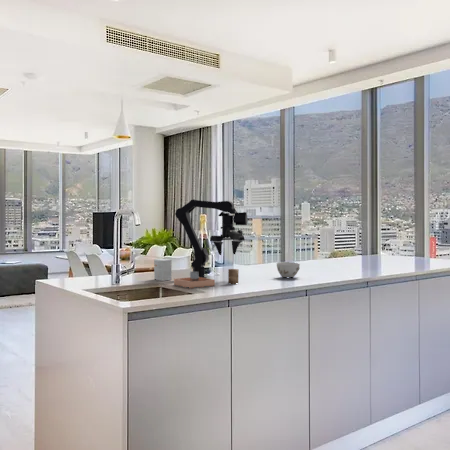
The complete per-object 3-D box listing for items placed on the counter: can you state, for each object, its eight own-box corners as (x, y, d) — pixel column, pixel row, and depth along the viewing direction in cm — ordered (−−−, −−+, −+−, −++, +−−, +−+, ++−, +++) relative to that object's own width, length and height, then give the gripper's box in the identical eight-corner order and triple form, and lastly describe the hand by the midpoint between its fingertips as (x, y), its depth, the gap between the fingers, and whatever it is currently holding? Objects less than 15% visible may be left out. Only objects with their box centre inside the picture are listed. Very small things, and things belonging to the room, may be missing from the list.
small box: (171, 280, 267) (171, 259, 266) (162, 281, 263) (162, 260, 263) (162, 278, 273) (163, 258, 272) (153, 279, 269) (154, 259, 269)
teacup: (287, 279, 273) (287, 264, 272) (271, 277, 283) (271, 262, 282) (307, 277, 281) (307, 263, 281) (291, 275, 292) (291, 261, 291)
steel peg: (188, 284, 249) (188, 271, 249) (195, 283, 251) (195, 271, 251) (193, 285, 246) (193, 272, 246) (200, 284, 248) (200, 271, 248)
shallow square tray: (174, 284, 250) (174, 278, 250) (198, 282, 258) (198, 276, 258) (190, 288, 239) (190, 282, 239) (214, 286, 247) (214, 279, 247)
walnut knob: (226, 283, 257) (226, 269, 257) (234, 282, 260) (234, 268, 260) (232, 284, 253) (232, 270, 253) (240, 283, 256) (240, 269, 256)
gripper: (222, 225, 259) (222, 256, 260) (251, 225, 271) (250, 255, 271) (209, 224, 268) (209, 255, 269) (237, 224, 280) (237, 253, 280)
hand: (227, 254), depth 272 cm, fingers open, 9 cm apart
